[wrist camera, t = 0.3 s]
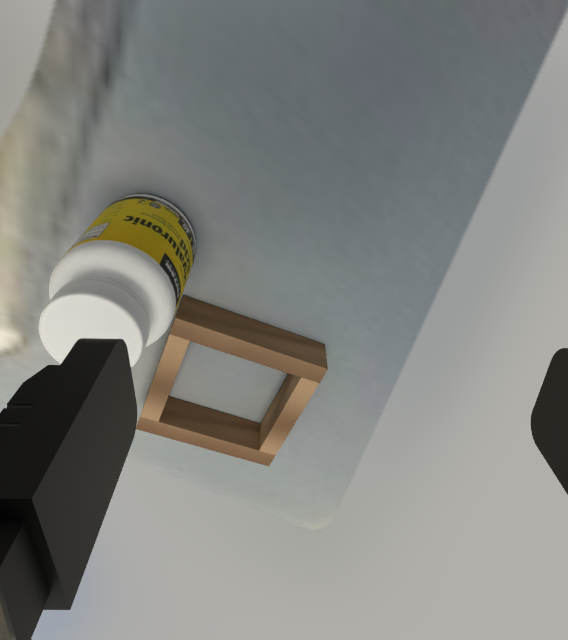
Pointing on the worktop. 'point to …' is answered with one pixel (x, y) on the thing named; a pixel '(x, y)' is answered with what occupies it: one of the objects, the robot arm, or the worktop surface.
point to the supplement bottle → (120, 277)
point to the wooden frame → (246, 342)
